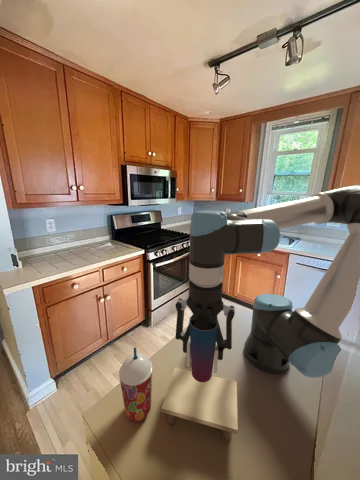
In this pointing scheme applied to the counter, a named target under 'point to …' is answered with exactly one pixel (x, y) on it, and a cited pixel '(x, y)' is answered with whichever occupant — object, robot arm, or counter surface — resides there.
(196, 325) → the cup
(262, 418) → the counter surface
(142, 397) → the smoothie
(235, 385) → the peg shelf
